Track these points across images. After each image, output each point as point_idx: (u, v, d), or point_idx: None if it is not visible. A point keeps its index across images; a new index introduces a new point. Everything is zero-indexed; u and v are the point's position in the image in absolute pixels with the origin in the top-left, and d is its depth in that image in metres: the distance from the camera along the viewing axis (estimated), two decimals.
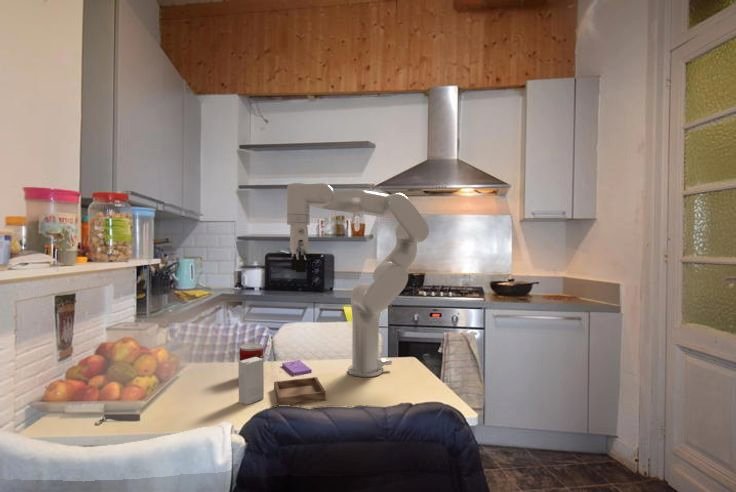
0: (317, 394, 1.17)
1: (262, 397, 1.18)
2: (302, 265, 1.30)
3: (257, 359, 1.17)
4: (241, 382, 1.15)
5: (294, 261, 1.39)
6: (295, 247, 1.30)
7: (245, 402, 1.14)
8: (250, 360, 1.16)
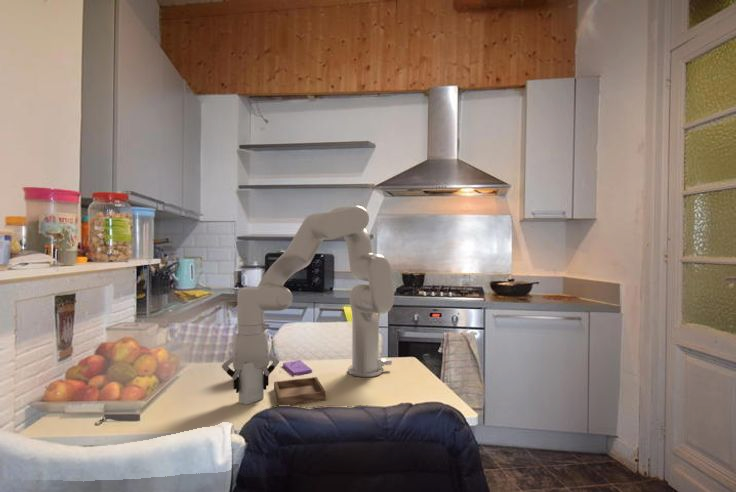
0: (317, 394, 1.17)
1: (262, 397, 1.18)
2: None
3: None
4: (241, 382, 1.15)
5: (238, 381, 1.15)
6: (268, 360, 1.17)
7: (245, 402, 1.14)
8: None
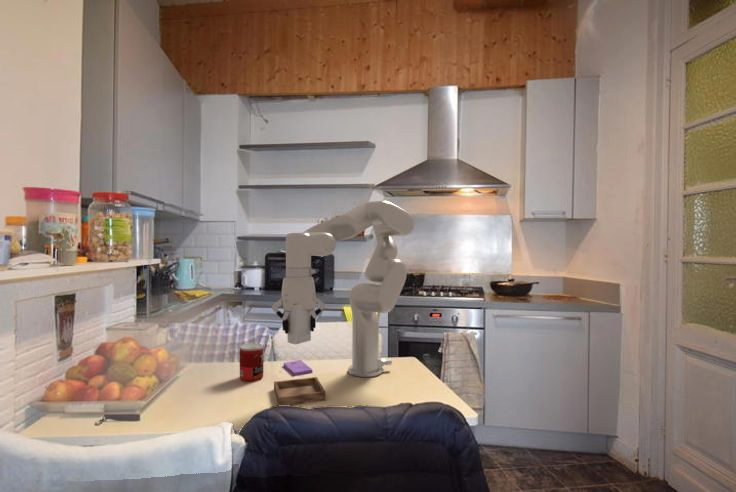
0: (317, 394, 1.17)
1: (309, 339, 1.22)
2: None
3: None
4: (290, 323, 1.20)
5: None
6: (315, 303, 1.21)
7: (294, 342, 1.19)
8: None
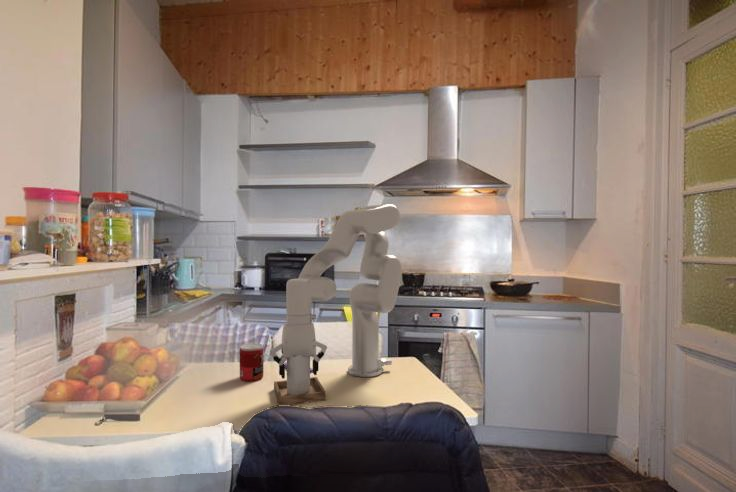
0: (317, 394, 1.17)
1: (309, 389, 1.22)
2: None
3: None
4: (290, 375, 1.20)
5: None
6: (315, 349, 1.21)
7: (294, 394, 1.19)
8: None
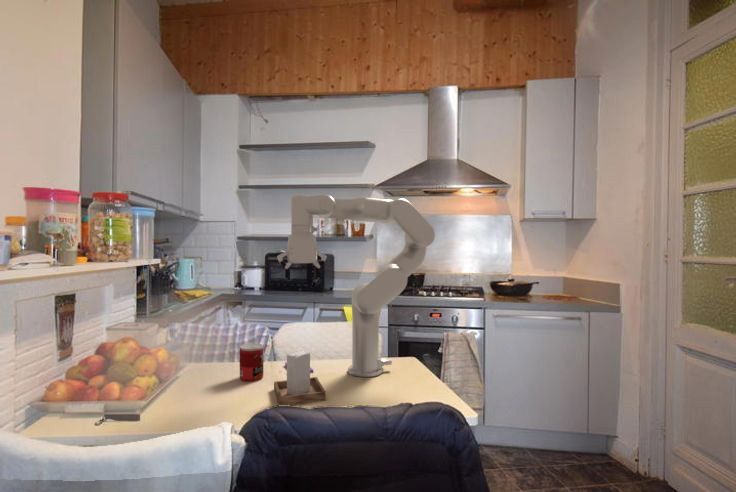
0: (317, 394, 1.17)
1: (309, 389, 1.22)
2: None
3: (304, 353, 1.22)
4: (290, 375, 1.20)
5: None
6: (316, 256, 1.39)
7: (294, 394, 1.19)
8: (298, 353, 1.21)
